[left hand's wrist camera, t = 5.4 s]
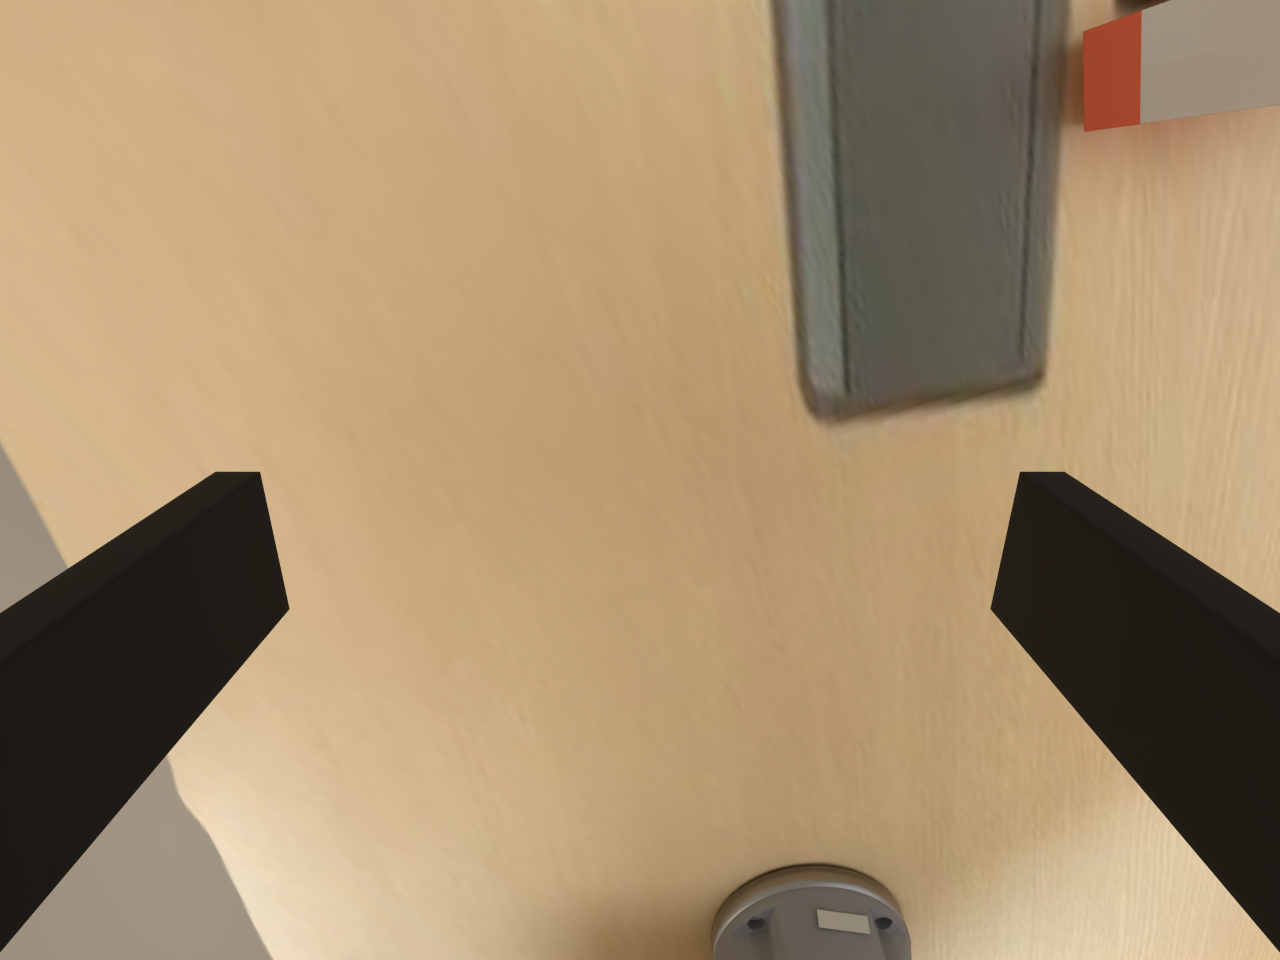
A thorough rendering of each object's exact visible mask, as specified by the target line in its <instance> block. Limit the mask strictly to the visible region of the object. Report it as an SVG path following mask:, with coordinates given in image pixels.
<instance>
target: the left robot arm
mask: <svg viewBox="0 0 1280 960" xmlns="http://www.w3.org/2000/svg"><path fill="white" fill-rule="evenodd" d="M288 610H289V605H288V600H287V595H286V591H285V586H284V581H283V577H282V572H281V567H280V563H279V558H278V553H277V549H276V544H275V540H274V535H273V530H272V526H271V521H270V516H269V512H268V507H267V502H266V498H265V493H264V488H263V484H262V479H261V474H260V472H215V473H213V474H212V475H210V476H208V477H207V478H205V479H204V480H202V481H201V482H199V483H198V484H196V485H195V486H193V487H192V488H190V489H189V490H187V491H186V492H184V493H183V494H181V495H180V496H178V497H177V498H175V499H173V500H172V501H170V502H169V503H167V504H166V505H164V506H163V507H161V508H160V509H158V510H157V511H155V512H154V513H152V514H151V515H149V516H148V517H146V518H145V519H143V520H141V521H140V522H138V523H137V524H135V525H134V526H132V527H131V528H129V529H128V530H126V531H125V532H123V533H122V534H120V535H119V536H117V537H116V538H114V539H113V540H111V541H110V542H108V543H106V544H105V545H103V546H102V547H100V548H99V549H97V550H96V551H94V552H93V553H91V554H90V555H88V556H87V557H85V558H84V559H82V560H81V561H79V562H78V563H76V564H74V565H73V566H71V567H70V568H68V569H67V570H65V571H64V572H62V573H61V574H59V575H58V576H56V577H55V578H53V579H52V580H50V581H49V582H47V583H46V584H44V585H43V586H41V587H39V588H38V589H36V590H35V591H34V592H32V593H30V594H29V595H27V596H26V597H24V598H23V599H21V600H20V601H18V602H17V603H15V604H14V605H12V606H11V607H9V608H8V609H6V610H4V611H3V612H1V613H0V952H1V951H2V949H3V948H4V947H5V946H6V945H7V944H8V942H9V941H10V940H11V939H12V938H13V936H14V935H15V934H16V933H17V932H18V931H19V929H20V928H21V927H22V926H23V925H24V923H25V922H26V921H27V920H28V919H29V917H30V916H31V915H32V914H33V913H34V912H35V910H36V909H37V908H38V907H39V906H40V904H41V903H42V902H43V901H44V900H45V898H46V897H47V896H48V895H49V894H50V893H51V891H52V890H53V889H54V888H55V887H56V885H57V884H58V883H59V882H60V881H61V879H62V878H63V877H64V876H65V875H66V873H67V872H68V871H69V870H70V869H71V868H72V866H73V865H74V864H75V863H76V862H77V861H78V859H79V858H80V857H81V856H82V855H83V853H84V852H85V851H86V850H87V849H88V847H89V846H90V845H91V844H92V843H93V842H94V840H95V839H96V838H97V837H98V836H99V834H100V833H101V832H102V831H103V830H104V828H105V827H106V826H107V825H108V824H109V823H110V821H111V820H112V819H113V818H114V817H115V815H116V814H117V813H118V812H119V811H120V809H121V808H122V807H123V806H124V805H125V804H126V802H127V801H128V800H129V799H130V798H131V796H132V795H133V794H134V793H135V792H136V790H137V789H138V788H139V787H140V786H141V785H142V783H143V782H144V781H145V780H146V779H147V777H148V776H149V775H150V774H151V773H152V771H153V770H154V769H155V768H156V767H157V766H158V764H159V763H160V762H161V761H162V760H163V758H164V757H165V756H166V755H167V754H168V753H169V751H170V750H171V749H172V748H173V747H174V745H175V744H176V743H177V742H178V741H179V739H180V738H181V737H182V736H183V735H184V734H185V732H186V731H187V730H188V729H189V728H190V726H191V725H192V724H193V723H194V722H195V721H196V719H197V718H198V717H199V716H200V715H201V713H202V712H203V711H204V710H205V709H206V707H207V706H208V705H209V704H210V703H211V702H212V700H213V699H214V698H215V697H216V696H217V694H218V693H219V692H220V691H221V690H222V688H223V687H224V686H225V685H226V684H227V683H228V681H229V680H230V679H231V678H232V677H233V675H234V674H235V673H236V672H237V671H238V669H239V668H240V667H241V666H242V665H243V664H244V662H245V661H246V660H247V659H248V658H249V656H250V655H251V654H252V653H253V652H254V651H255V649H256V648H257V647H258V646H259V645H260V643H261V642H262V641H263V640H264V639H265V637H266V636H267V635H268V634H269V633H270V632H271V630H272V629H273V628H274V627H275V626H276V624H277V623H278V622H279V621H280V620H281V618H282V617H283V616H284V615H285V614H286V613H287V611H288ZM991 610H992V611H993V613H994V614H995V615H996V616H997V617H998V618H999V620H1000V621H1001V622H1002V623H1003V624H1004V626H1005V627H1006V628H1007V629H1008V630H1009V632H1010V633H1011V634H1012V635H1013V636H1014V637H1015V639H1016V640H1017V641H1018V642H1019V643H1020V645H1021V646H1022V647H1023V648H1024V649H1025V651H1026V652H1027V653H1028V654H1029V655H1030V656H1031V658H1032V659H1033V660H1034V661H1035V662H1036V664H1037V665H1038V666H1039V667H1040V668H1041V669H1042V671H1043V672H1044V673H1045V674H1046V675H1047V677H1048V678H1049V679H1050V680H1051V681H1052V683H1053V684H1054V685H1055V686H1056V687H1057V688H1058V690H1059V691H1060V692H1061V693H1062V694H1063V696H1064V697H1065V698H1066V699H1067V700H1068V702H1069V703H1070V704H1071V705H1072V706H1073V707H1074V709H1075V710H1076V711H1077V712H1078V713H1079V715H1080V716H1081V717H1082V718H1083V719H1084V721H1085V722H1086V723H1087V724H1088V725H1089V726H1090V728H1091V729H1092V730H1093V731H1094V732H1095V734H1096V735H1097V736H1098V737H1099V738H1100V739H1101V741H1102V742H1103V743H1104V744H1105V745H1106V747H1107V748H1108V749H1109V750H1110V751H1111V753H1112V754H1113V755H1114V756H1115V757H1116V758H1117V760H1118V761H1119V762H1120V763H1121V764H1122V766H1123V767H1124V768H1125V769H1126V770H1127V772H1128V773H1129V774H1130V775H1131V776H1132V777H1133V779H1134V780H1135V781H1136V782H1137V783H1138V785H1139V786H1140V787H1141V788H1142V789H1143V791H1144V792H1145V793H1146V794H1147V795H1148V796H1149V798H1150V799H1151V800H1152V801H1153V802H1154V804H1155V805H1156V806H1157V807H1158V808H1159V809H1160V811H1161V812H1162V813H1163V814H1164V815H1165V817H1166V818H1167V819H1168V820H1169V821H1170V823H1171V824H1172V825H1173V826H1174V827H1175V828H1176V830H1177V831H1178V832H1179V833H1180V834H1181V836H1182V837H1183V838H1184V839H1185V840H1186V842H1187V843H1188V844H1189V845H1190V846H1191V847H1192V849H1193V850H1194V851H1195V852H1196V853H1197V855H1198V856H1199V857H1200V858H1201V859H1202V861H1203V862H1204V863H1205V864H1206V865H1207V866H1208V868H1209V869H1210V870H1211V871H1212V872H1213V874H1214V875H1215V876H1216V877H1217V878H1218V879H1219V881H1220V882H1221V883H1222V884H1223V885H1224V887H1225V888H1226V889H1227V890H1228V891H1229V893H1230V894H1231V895H1232V896H1233V897H1234V898H1235V900H1236V901H1237V902H1238V903H1239V904H1240V906H1241V907H1242V908H1243V909H1244V910H1245V912H1246V913H1247V914H1248V915H1249V916H1250V917H1251V919H1252V920H1253V921H1254V922H1255V923H1256V925H1257V926H1258V927H1259V928H1260V929H1261V931H1262V932H1263V933H1264V934H1265V935H1266V936H1267V938H1268V939H1269V940H1270V941H1271V942H1272V944H1273V945H1274V946H1275V947H1276V948H1277V949H1278V951H1279V952H1280V613H1279V612H1277V611H1276V610H1274V609H1273V608H1271V607H1269V606H1268V605H1266V604H1265V603H1263V602H1262V601H1260V600H1259V599H1257V598H1256V597H1254V596H1253V595H1251V594H1250V593H1248V592H1247V591H1245V590H1244V589H1242V588H1241V587H1239V586H1237V585H1236V584H1234V583H1233V582H1231V581H1230V580H1228V579H1227V578H1225V577H1224V576H1222V575H1221V574H1219V573H1218V572H1216V571H1215V570H1213V569H1212V568H1210V567H1209V566H1207V565H1206V564H1204V563H1202V562H1201V561H1199V560H1198V559H1196V558H1195V557H1193V556H1192V555H1190V554H1189V553H1187V552H1186V551H1184V550H1183V549H1181V548H1180V547H1178V546H1177V545H1175V544H1174V543H1172V542H1170V541H1169V540H1167V539H1166V538H1164V537H1163V536H1161V535H1160V534H1158V533H1157V532H1155V531H1154V530H1152V529H1151V528H1149V527H1148V526H1146V525H1145V524H1143V523H1142V522H1140V521H1139V520H1137V519H1135V518H1134V517H1132V516H1131V515H1129V514H1128V513H1126V512H1125V511H1123V510H1122V509H1120V508H1119V507H1117V506H1116V505H1114V504H1113V503H1111V502H1110V501H1108V500H1107V499H1105V498H1103V497H1102V496H1100V495H1099V494H1097V493H1096V492H1094V491H1093V490H1091V489H1090V488H1088V487H1087V486H1085V485H1084V484H1082V483H1081V482H1079V481H1078V480H1076V479H1075V478H1073V477H1072V476H1070V475H1068V474H1067V473H1065V472H1020V474H1019V479H1018V484H1017V488H1016V493H1015V498H1014V502H1013V507H1012V512H1011V516H1010V521H1009V526H1008V530H1007V535H1006V540H1005V544H1004V549H1003V553H1002V558H1001V563H1000V567H999V572H998V577H997V581H996V586H995V591H994V595H993V600H992V605H991ZM712 951H713V960H911V942H910V936H909V933H908V929H907V927H906V924H905V921H904V918H903V916H902V913H901V910H900V908H899V906H898V904H897V902H896V900H895V899H894V897H893V896H892V895H891V894H890V893H889V892H888V891H887V890H886V889H885V888H884V887H883V886H881V885H880V884H879V883H877V882H876V881H874V880H872V879H871V878H869V877H867V876H865V875H862V874H860V873H857V872H854V871H851V870H847V869H843V868H838V867H830V866H801V867H794V868H788V869H783V870H779V871H776V872H773V873H770V874H767V875H764V876H762V877H760V878H758V879H756V880H754V881H752V882H750V883H748V884H747V885H745V886H743V887H742V888H741V889H739V890H738V891H737V892H735V893H734V894H733V895H732V896H731V897H730V898H729V899H728V900H727V901H726V902H725V903H724V905H723V906H722V908H721V909H720V911H719V912H718V914H717V916H716V918H715V921H714V924H713V928H712Z"/></svg>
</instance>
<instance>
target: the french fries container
mask: <svg viewBox="0 0 1280 960" xmlns="http://www.w3.org/2000/svg"><path fill="white" fill-rule="evenodd" d="M1083 63H1084V132H1086V131H1093V130H1100V129H1107V128H1115V127H1122V126H1129V125H1136V124H1144V123H1151V122H1158V121H1165V120H1173V119H1180V118H1187V117H1194V116H1201V115H1209V114H1216V113H1223V112H1230V111H1238V110H1245V109H1252V108H1259V107H1267V106H1274V105H1280V0H1170V1H1167V2H1164V3H1161V4H1159V5H1156V6H1153V7H1150V8H1147V9H1144V10H1142V11H1139V12H1136V13H1133V14H1131V15H1128V16H1125V17H1122V18H1120V19H1117V20H1114V21H1111V22H1109V23H1106V24H1103V25H1100V26H1098V27H1095V28H1092V29H1089V30H1087V31H1084V32H1083Z"/></svg>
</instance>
